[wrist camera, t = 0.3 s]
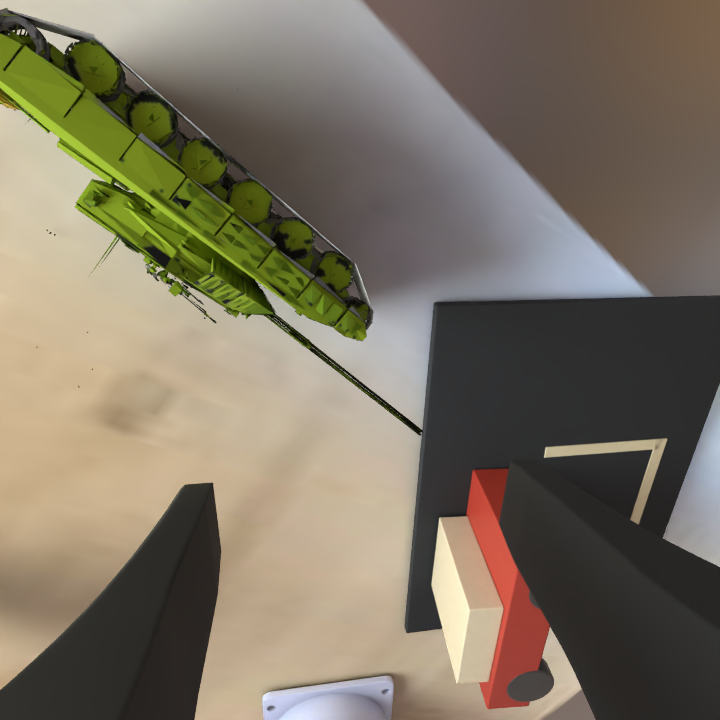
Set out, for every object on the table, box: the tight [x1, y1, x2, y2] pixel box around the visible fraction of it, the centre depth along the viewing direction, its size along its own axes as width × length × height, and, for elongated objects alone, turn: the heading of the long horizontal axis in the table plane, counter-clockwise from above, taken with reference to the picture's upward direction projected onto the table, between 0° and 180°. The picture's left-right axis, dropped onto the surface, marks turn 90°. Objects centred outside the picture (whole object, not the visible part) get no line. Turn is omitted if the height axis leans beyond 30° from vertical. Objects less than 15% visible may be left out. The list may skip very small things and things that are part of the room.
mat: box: [405, 296, 720, 633], centre depth 26 cm, size 20×15×1 cm
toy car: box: [431, 468, 554, 709], centre depth 23 cm, size 9×4×6 cm, turn 178°
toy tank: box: [0, 8, 424, 438], centre depth 17 cm, size 7×19×10 cm
